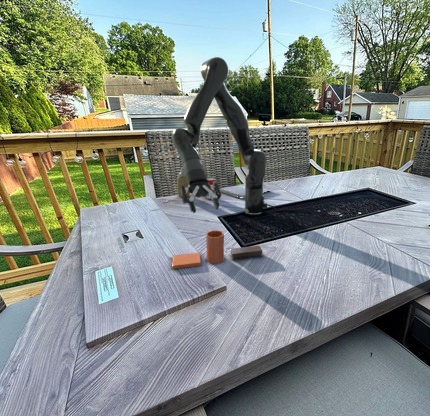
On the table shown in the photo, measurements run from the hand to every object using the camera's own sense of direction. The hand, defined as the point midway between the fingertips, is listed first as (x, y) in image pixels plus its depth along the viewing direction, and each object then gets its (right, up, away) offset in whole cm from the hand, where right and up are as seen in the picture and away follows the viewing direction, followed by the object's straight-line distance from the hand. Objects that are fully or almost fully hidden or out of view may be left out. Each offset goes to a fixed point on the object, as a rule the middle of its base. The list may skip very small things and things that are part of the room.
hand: (206, 210), depth 96 cm
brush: (+15, -17, +1) cm, 23 cm away
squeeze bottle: (-30, +8, +65) cm, 72 cm away
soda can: (-14, +7, +65) cm, 66 cm away
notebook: (+7, +12, +81) cm, 82 cm away
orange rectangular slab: (-5, -18, -5) cm, 19 cm away
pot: (+4, -18, -3) cm, 18 cm away
